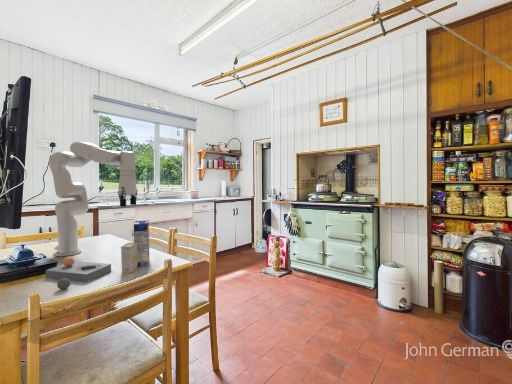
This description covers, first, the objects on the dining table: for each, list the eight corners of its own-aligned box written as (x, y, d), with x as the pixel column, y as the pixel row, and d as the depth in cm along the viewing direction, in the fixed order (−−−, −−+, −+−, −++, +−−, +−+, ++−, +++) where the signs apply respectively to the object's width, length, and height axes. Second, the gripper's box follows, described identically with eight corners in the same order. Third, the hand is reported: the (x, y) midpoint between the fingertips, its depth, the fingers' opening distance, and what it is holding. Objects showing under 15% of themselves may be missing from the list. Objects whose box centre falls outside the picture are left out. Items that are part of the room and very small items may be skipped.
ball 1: (60, 267, 123) (60, 257, 122) (69, 264, 127) (68, 255, 127) (68, 268, 122) (68, 258, 122) (76, 265, 126) (76, 255, 126)
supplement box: (128, 267, 133) (127, 242, 132) (137, 267, 133) (137, 242, 133) (121, 273, 125) (120, 246, 124) (131, 273, 125) (131, 246, 124)
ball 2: (54, 290, 105) (54, 280, 105) (64, 286, 110) (64, 276, 109) (63, 291, 104) (63, 281, 104) (73, 287, 109) (73, 277, 108)
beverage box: (134, 267, 134) (133, 224, 132) (135, 261, 144) (135, 220, 143) (148, 265, 136) (148, 223, 135) (149, 259, 146) (148, 220, 145)
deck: (45, 277, 119) (45, 270, 119) (73, 267, 132) (73, 260, 132) (86, 282, 114) (86, 274, 114) (111, 271, 128) (110, 264, 128)
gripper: (130, 174, 153) (130, 204, 153) (111, 174, 135) (111, 207, 136) (142, 174, 152) (143, 204, 153) (125, 174, 135) (125, 207, 136)
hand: (128, 205), depth 144 cm, fingers open, 9 cm apart
